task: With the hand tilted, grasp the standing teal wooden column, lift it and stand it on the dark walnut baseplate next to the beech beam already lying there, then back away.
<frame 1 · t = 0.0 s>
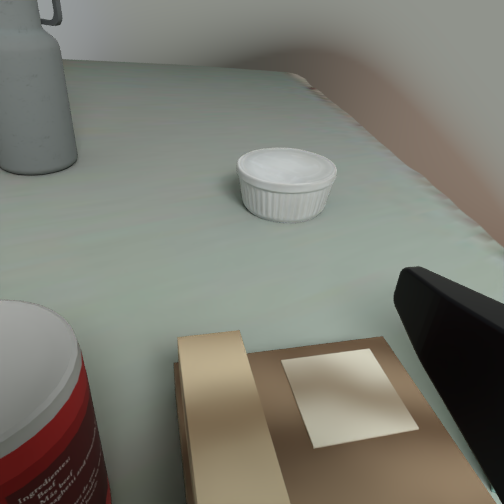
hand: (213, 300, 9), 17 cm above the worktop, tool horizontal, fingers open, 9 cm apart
baseplate: (316, 474, 23), on the worktop
ramekin: (282, 207, 51), on the worktop
water bottle: (41, 163, 58), on the worktop
beam: (226, 464, 21), point 2 cm above the worktop, touching baseplate
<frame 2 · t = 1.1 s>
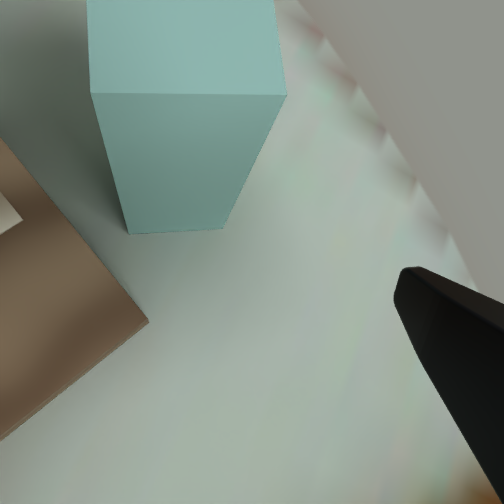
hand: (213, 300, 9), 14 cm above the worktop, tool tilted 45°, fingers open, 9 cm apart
column: (173, 187, 24), on the worktop
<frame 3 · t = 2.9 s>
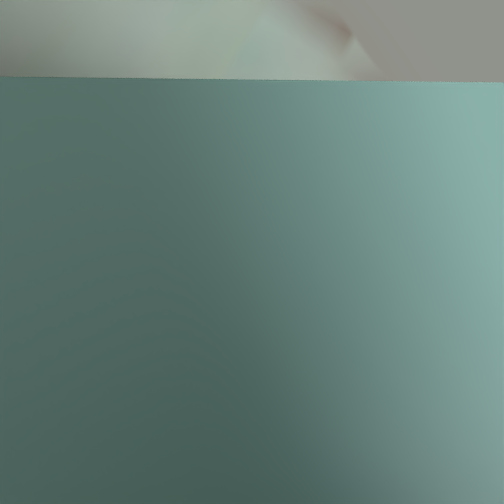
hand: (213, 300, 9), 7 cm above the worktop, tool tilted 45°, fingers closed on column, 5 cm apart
column: (196, 361, 15), on the worktop, touching gripper
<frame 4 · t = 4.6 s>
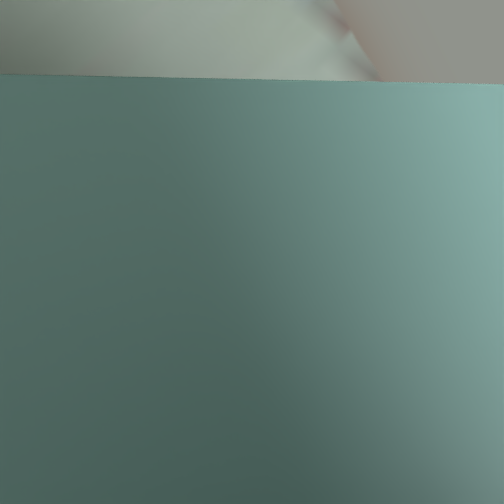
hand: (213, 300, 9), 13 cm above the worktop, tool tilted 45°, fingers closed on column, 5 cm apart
column: (198, 360, 16), point 7 cm above the worktop, touching gripper
when the fingers open (10 cm above the worktop, at t = 6.1 s): column stays where it is, resting on baseplate.
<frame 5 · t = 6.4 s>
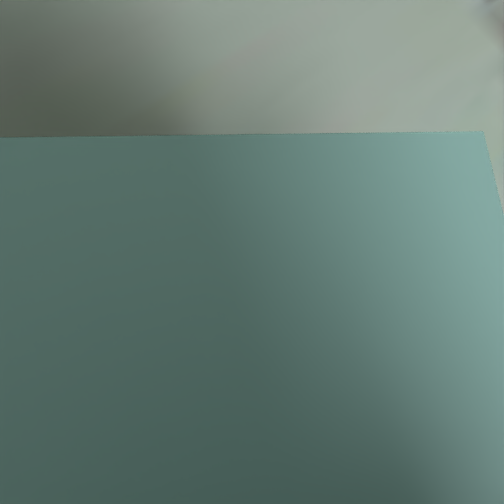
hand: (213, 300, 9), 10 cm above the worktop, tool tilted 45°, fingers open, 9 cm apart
column: (195, 361, 16), point 3 cm above the worktop, touching baseplate
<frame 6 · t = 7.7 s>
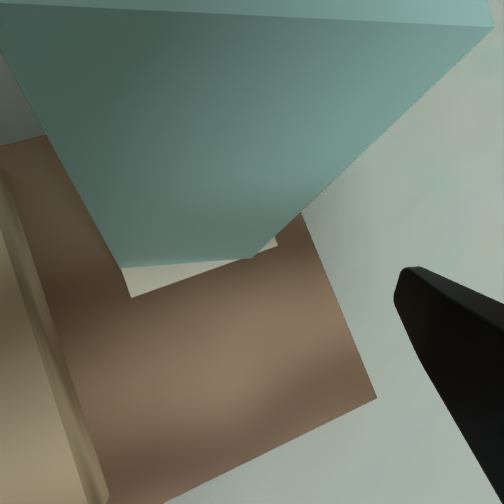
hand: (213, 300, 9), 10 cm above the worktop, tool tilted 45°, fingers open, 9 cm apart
baseplate: (146, 299, 18), on the worktop
column: (182, 200, 17), point 3 cm above the worktop, touching baseplate
beam: (1, 344, 15), point 2 cm above the worktop, touching baseplate
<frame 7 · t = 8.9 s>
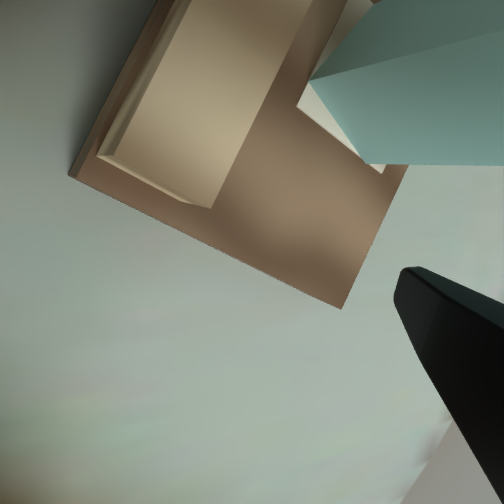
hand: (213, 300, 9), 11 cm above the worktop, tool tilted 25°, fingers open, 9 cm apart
baseplate: (273, 117, 21), on the worktop
column: (369, 87, 20), point 3 cm above the worktop, touching baseplate
beam: (211, 38, 16), point 2 cm above the worktop, touching baseplate
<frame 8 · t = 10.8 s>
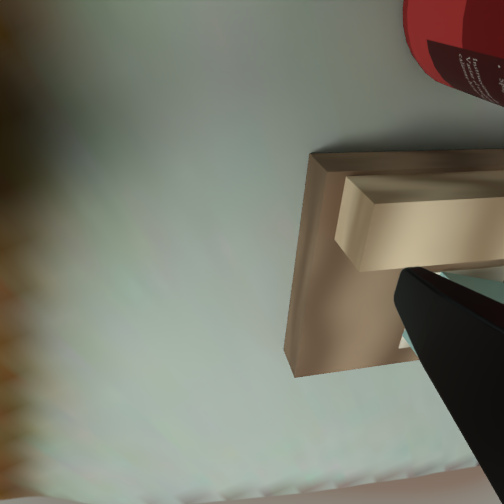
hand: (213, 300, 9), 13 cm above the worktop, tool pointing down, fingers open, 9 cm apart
baseplate: (399, 256, 28), on the worktop
column: (451, 308, 28), point 3 cm above the worktop, touching baseplate
beam: (445, 203, 23), point 2 cm above the worktop, touching baseplate
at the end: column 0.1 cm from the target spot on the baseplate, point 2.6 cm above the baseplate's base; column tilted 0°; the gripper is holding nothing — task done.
